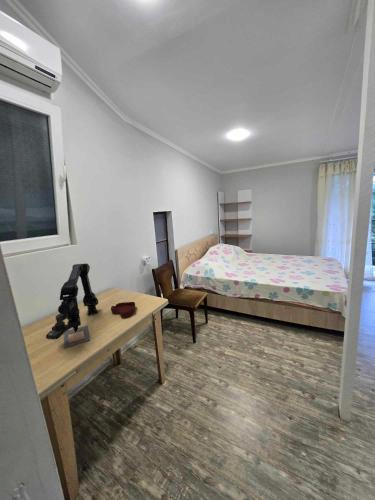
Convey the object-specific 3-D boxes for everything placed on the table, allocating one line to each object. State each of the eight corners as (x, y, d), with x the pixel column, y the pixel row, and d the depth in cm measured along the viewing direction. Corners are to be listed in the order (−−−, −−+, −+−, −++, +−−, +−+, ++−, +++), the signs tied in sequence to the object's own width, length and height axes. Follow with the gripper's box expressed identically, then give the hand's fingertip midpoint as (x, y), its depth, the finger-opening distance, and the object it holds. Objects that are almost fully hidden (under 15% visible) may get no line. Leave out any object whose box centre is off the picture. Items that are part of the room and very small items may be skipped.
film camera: (54, 332, 118) (42, 325, 121) (53, 343, 120) (41, 336, 122) (74, 321, 130) (62, 315, 133) (73, 331, 132) (61, 325, 135)
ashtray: (142, 310, 152) (142, 304, 151) (124, 320, 139) (123, 313, 138) (127, 304, 163) (127, 298, 162) (109, 313, 150) (108, 306, 149)
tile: (68, 334, 120) (68, 340, 115) (83, 330, 124) (84, 335, 119) (68, 337, 121) (68, 342, 115) (83, 333, 124) (84, 338, 119)
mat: (64, 332, 127) (64, 331, 127) (87, 326, 133) (87, 325, 133) (64, 348, 112) (63, 347, 112) (90, 340, 118) (90, 339, 118)
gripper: (56, 303, 120) (60, 327, 123) (54, 317, 104) (58, 344, 107) (77, 299, 126) (81, 322, 128) (78, 311, 110) (82, 337, 112)
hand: (75, 331), depth 119 cm, fingers closed
